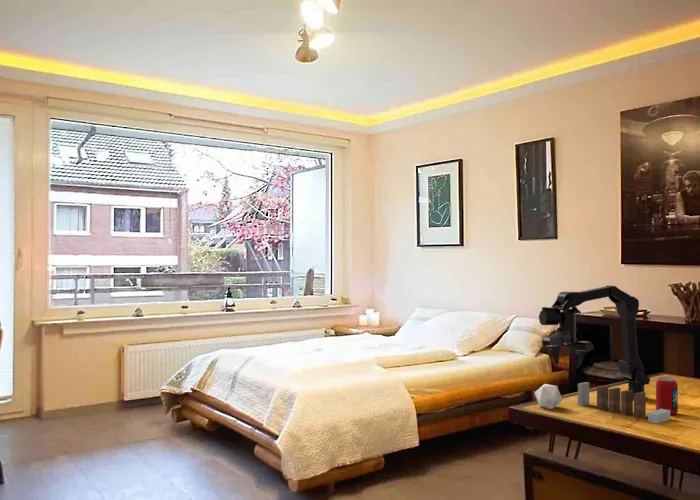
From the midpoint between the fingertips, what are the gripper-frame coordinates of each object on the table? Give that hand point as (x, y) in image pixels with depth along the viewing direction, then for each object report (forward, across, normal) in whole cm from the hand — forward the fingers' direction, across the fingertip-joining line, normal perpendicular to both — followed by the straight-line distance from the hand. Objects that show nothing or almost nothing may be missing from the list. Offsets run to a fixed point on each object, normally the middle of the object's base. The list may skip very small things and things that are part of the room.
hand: (566, 366), depth 231 cm
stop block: (+13, +34, +1) cm, 37 cm away
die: (+14, +2, -14) cm, 19 cm away
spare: (+13, +7, +1) cm, 15 cm away
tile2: (+13, +19, +1) cm, 23 cm away
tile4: (+13, +28, +1) cm, 31 cm away
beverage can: (+13, +31, +13) cm, 36 cm away
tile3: (+13, +23, +1) cm, 27 cm away
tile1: (+13, +14, +1) cm, 19 cm away
